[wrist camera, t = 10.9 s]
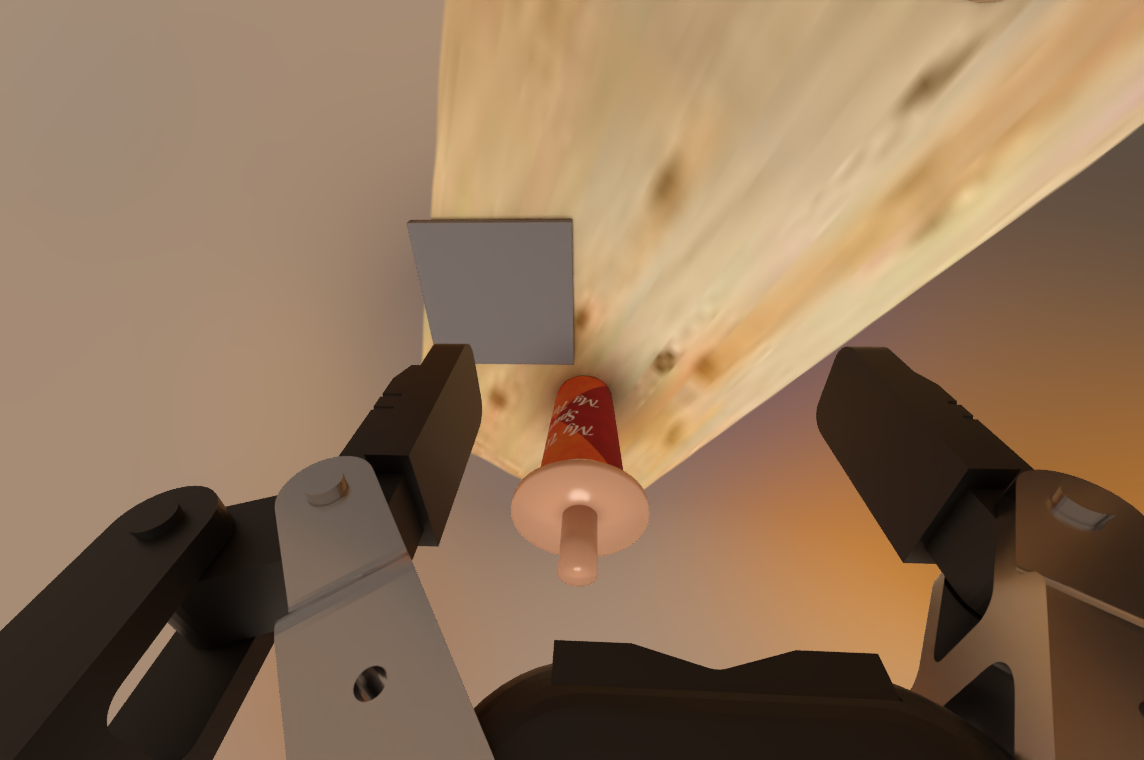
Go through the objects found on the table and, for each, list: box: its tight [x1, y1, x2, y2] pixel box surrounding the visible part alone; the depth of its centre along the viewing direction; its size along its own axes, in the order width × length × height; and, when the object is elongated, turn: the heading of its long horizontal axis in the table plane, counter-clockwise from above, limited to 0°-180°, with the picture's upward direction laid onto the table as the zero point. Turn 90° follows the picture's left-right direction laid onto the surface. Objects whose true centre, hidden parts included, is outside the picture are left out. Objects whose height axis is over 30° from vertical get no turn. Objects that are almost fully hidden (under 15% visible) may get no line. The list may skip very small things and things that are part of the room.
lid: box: [511, 459, 649, 586], centre depth 33 cm, size 11×11×6 cm
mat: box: [407, 219, 574, 365], centre depth 41 cm, size 14×14×1 cm
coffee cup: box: [541, 376, 623, 470], centre depth 41 cm, size 8×8×15 cm
